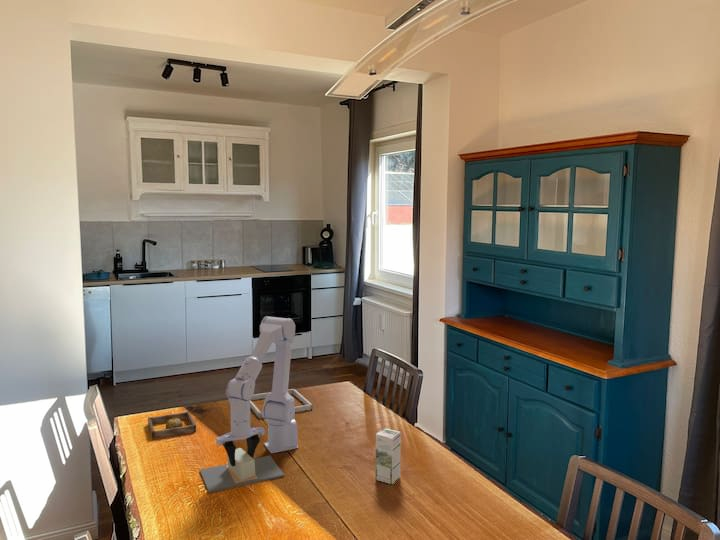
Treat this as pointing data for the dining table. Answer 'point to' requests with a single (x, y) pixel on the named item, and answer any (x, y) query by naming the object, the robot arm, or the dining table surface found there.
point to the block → (242, 465)
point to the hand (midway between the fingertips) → (241, 462)
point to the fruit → (174, 423)
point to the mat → (226, 479)
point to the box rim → (291, 391)
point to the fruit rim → (172, 431)
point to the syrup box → (388, 455)
